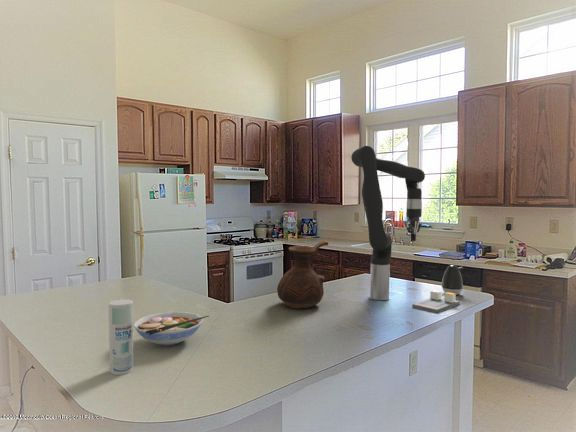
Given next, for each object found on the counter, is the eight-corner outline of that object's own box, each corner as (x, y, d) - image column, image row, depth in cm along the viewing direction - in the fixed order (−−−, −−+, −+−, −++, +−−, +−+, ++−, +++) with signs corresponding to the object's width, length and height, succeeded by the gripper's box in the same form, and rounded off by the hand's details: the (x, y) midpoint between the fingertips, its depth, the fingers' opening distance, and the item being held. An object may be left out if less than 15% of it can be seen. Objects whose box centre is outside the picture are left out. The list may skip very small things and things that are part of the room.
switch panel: (436, 313, 184) (437, 309, 184) (412, 307, 192) (412, 304, 192) (459, 304, 199) (459, 301, 199) (435, 299, 207) (435, 296, 207)
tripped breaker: (452, 302, 195) (452, 294, 194) (444, 301, 197) (444, 293, 197) (455, 301, 197) (455, 293, 196) (447, 300, 200) (447, 292, 199)
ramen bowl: (179, 326, 163) (178, 305, 162) (218, 340, 148) (218, 317, 148) (117, 344, 144) (117, 320, 143) (156, 361, 129) (156, 335, 129)
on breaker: (438, 299, 200) (438, 292, 199) (430, 298, 203) (430, 291, 202) (441, 298, 202) (441, 291, 201) (433, 297, 205) (433, 290, 204)
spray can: (112, 376, 118) (111, 306, 117) (107, 369, 123) (106, 301, 122) (136, 371, 122) (135, 302, 121) (130, 363, 127) (129, 298, 126)
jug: (306, 314, 180) (307, 244, 178) (267, 306, 193) (268, 240, 191) (333, 304, 197) (334, 240, 195) (296, 296, 210) (296, 236, 208)
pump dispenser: (466, 296, 213) (467, 266, 213) (445, 296, 214) (446, 266, 213) (458, 291, 224) (459, 263, 223) (438, 291, 224) (439, 263, 223)
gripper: (413, 208, 212) (413, 242, 213) (427, 207, 222) (426, 240, 223) (400, 207, 218) (400, 241, 219) (414, 207, 227) (413, 239, 228)
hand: (413, 241), depth 221 cm, fingers closed
